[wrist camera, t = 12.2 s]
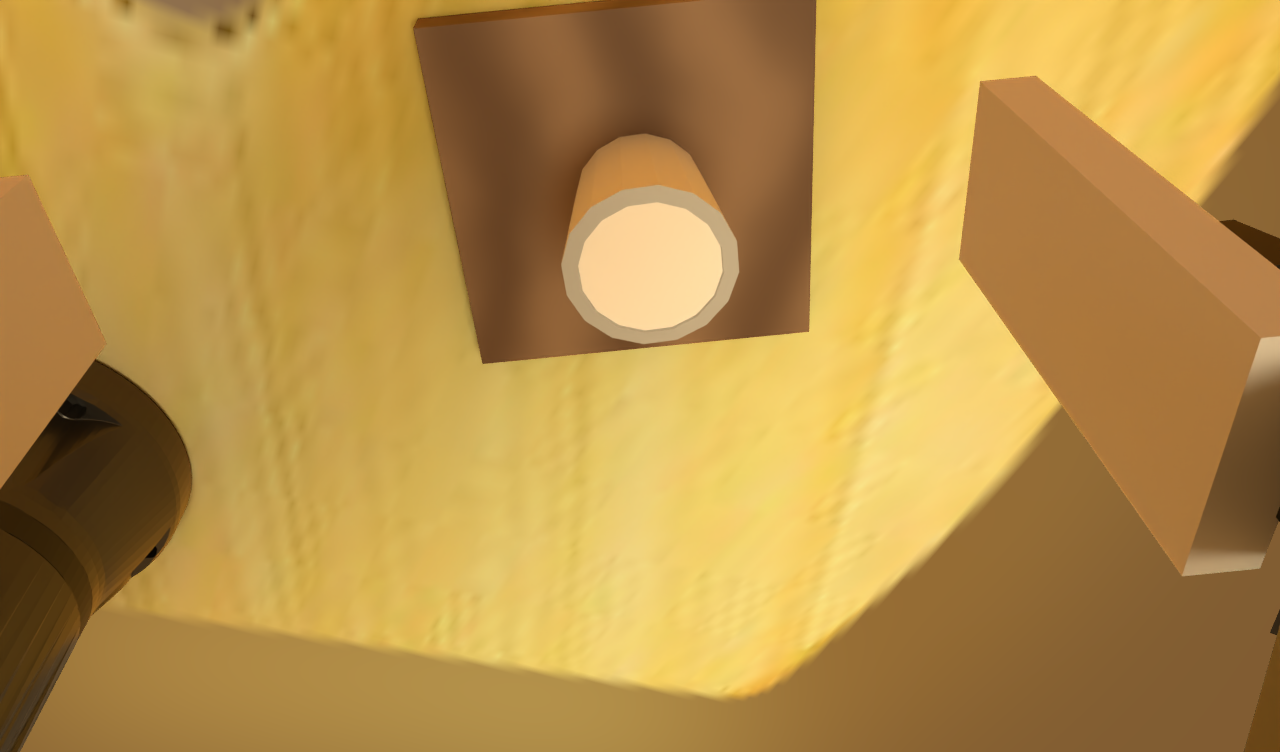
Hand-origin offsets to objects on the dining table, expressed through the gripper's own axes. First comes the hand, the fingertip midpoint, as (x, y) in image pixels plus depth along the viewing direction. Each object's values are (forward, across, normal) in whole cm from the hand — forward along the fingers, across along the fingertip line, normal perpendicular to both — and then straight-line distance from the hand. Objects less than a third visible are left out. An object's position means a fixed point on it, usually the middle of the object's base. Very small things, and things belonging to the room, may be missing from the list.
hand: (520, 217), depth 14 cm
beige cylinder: (+27, +2, -12) cm, 30 cm away
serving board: (+29, +2, -12) cm, 31 cm away
